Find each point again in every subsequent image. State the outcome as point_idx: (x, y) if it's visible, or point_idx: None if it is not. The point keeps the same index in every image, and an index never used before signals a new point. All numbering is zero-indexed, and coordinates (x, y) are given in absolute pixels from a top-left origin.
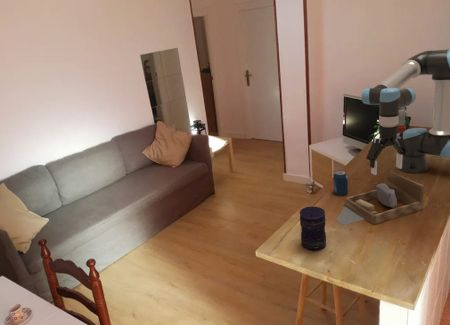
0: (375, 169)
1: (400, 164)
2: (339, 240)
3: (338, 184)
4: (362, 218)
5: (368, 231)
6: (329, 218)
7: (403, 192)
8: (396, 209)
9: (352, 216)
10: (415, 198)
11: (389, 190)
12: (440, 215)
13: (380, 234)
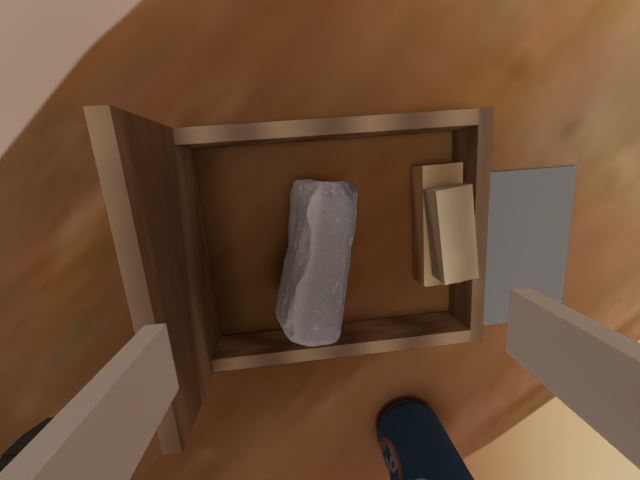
0: (591, 320)
1: (137, 360)
2: None
3: (459, 455)
4: None
5: (522, 74)
6: (579, 248)
7: (190, 259)
8: (345, 117)
9: (496, 218)
10: (175, 166)
11: (328, 225)
12: (129, 40)
13: (497, 25)
